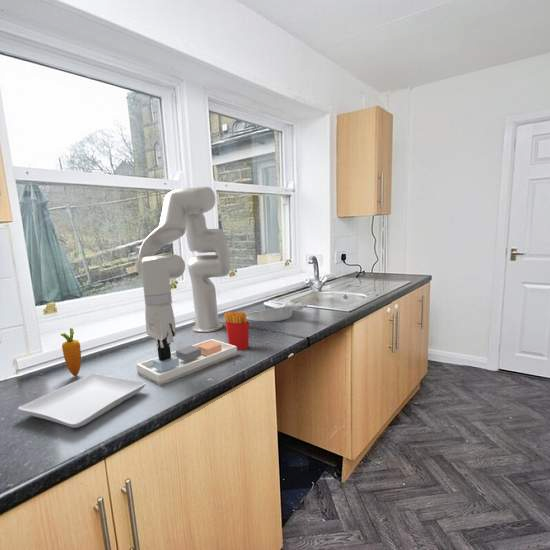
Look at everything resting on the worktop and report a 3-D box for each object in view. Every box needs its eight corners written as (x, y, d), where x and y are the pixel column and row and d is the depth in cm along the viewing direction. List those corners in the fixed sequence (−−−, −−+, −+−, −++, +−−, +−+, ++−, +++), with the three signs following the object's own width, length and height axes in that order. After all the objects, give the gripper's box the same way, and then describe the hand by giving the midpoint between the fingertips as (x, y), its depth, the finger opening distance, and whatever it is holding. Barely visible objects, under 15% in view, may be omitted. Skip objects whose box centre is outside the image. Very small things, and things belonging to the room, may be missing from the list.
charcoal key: (176, 357, 111) (175, 350, 110) (191, 352, 115) (191, 345, 114) (186, 361, 107) (185, 354, 107) (201, 356, 111) (200, 348, 111)
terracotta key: (198, 352, 117) (197, 346, 116) (211, 347, 121) (211, 341, 120) (207, 356, 113) (207, 349, 112) (221, 351, 117) (221, 344, 116)
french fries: (252, 346, 123) (249, 311, 121) (245, 350, 119) (242, 314, 118) (231, 343, 128) (228, 309, 126) (224, 347, 124) (221, 312, 122)
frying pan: (277, 309, 177) (276, 291, 176) (326, 319, 152) (325, 298, 151) (240, 318, 163) (238, 299, 162) (286, 332, 138) (285, 309, 136)
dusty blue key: (153, 367, 105) (152, 359, 105) (169, 361, 109) (169, 353, 109) (162, 371, 101) (161, 363, 101) (179, 365, 105) (178, 357, 105)
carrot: (71, 381, 104) (64, 332, 102) (63, 378, 106) (55, 331, 104) (88, 374, 108) (81, 328, 106) (79, 372, 110) (72, 326, 108)
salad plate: (149, 392, 93) (148, 380, 93) (77, 438, 74) (74, 423, 74) (95, 383, 102) (93, 372, 102) (17, 421, 83) (14, 408, 83)
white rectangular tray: (137, 373, 106) (136, 364, 106) (212, 346, 126) (211, 338, 125) (159, 385, 96) (158, 375, 96) (237, 354, 116) (236, 346, 116)
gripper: (134, 299, 105) (141, 357, 107) (158, 304, 94) (166, 368, 97) (158, 295, 110) (164, 350, 113) (183, 299, 100) (189, 360, 102)
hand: (165, 358), depth 105 cm, fingers closed
